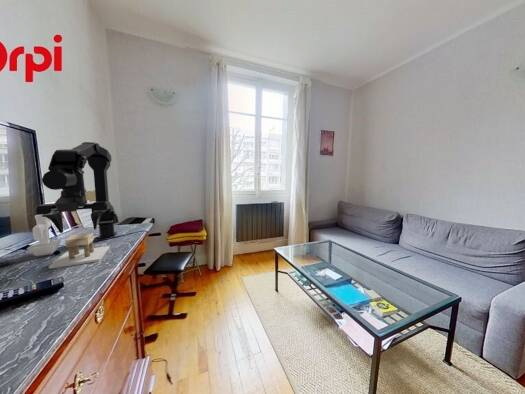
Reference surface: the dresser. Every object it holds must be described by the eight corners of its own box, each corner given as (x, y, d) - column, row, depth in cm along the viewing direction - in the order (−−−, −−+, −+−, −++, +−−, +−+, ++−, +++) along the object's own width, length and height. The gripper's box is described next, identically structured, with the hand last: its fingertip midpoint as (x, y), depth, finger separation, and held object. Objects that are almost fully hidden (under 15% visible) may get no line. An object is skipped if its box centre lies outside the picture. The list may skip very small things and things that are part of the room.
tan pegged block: (67, 260, 69) (64, 240, 68) (74, 253, 74) (72, 235, 73) (89, 256, 72) (87, 237, 71) (95, 250, 77) (93, 233, 76)
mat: (67, 253, 76) (66, 251, 76) (109, 248, 82) (108, 246, 82) (48, 268, 64) (48, 266, 64) (99, 261, 70) (99, 258, 70)
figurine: (26, 259, 71) (19, 218, 69) (39, 250, 79) (33, 212, 77) (53, 255, 75) (48, 215, 73) (64, 246, 83) (59, 211, 81)
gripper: (20, 190, 58) (28, 242, 60) (100, 188, 66) (105, 234, 68) (41, 187, 68) (48, 232, 70) (109, 185, 76) (113, 225, 78)
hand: (78, 231), depth 72 cm, fingers open, 9 cm apart
